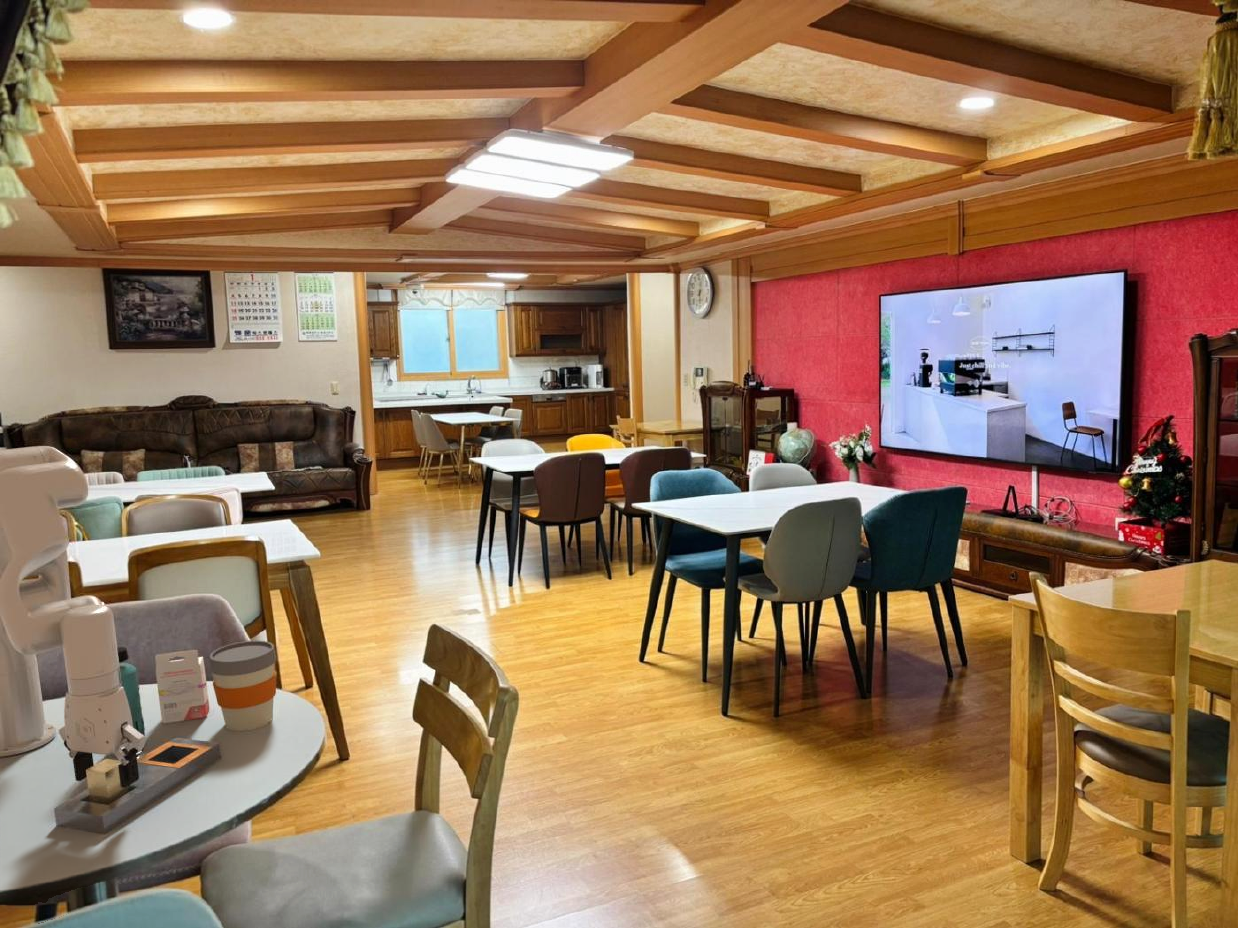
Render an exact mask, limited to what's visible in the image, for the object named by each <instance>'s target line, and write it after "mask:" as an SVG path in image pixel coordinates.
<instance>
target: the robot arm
mask: <svg viewBox="0 0 1238 928" xmlns="http://www.w3.org/2000/svg"><path fill="white" fill-rule="evenodd" d="M88 496H89V486H88V481H87V477H86V476H85V473H84V471H83V470H82V469H81V467H80V466H79V465H78V463H76V462H75V461H74V460H73V459H72V458H71V457H69V456H68V455H66V454H65V453H63V452H61V451H60V450H58V449H57V448H55V447H53V446H50V445H48V446H47V445H37V446H28V447H26V446H25V447H18V448H7V449H0V758H1V757H10V756H14V755H19V754H23V753H26V752H29V751H32V750H34V749H37V748H39V747H42V746H44V745H45V744H48V743H50V742H51V741H52V740H53V739H54V738H55V737H56V735H57V729H56V726H54V725H52V724H50V723H46V717H45V711H44V710H45V709H44V702H43V695H42V689H41V688H42V687H41V682H40V681H41V680H40V674H39V668H38V667H39V666H38V660H37V654H40V653H43V652H48V651H51V650H54V649H59V648H62V653H63V659H64V666H65V668H64V669H65V675H66V683H67V689H68V690H67V691H66V693H65V699H64V707H63V708H64V709H63V710H64V712H63V713H64V718H63V719H64V726H63V727H60V728H59V729H58V734H59V735H60V738H61V739H62V741H63V746H64V747H65V748H66V749H67V751H69V752H68V756H69V757H70V758H71V759H72V763H73V771H74V778H75V781H77V782H81V781H82V780H84V779H87V775H86V770H87V769H89V768H90V767H92V766H94V765H95V764H94V757H93V756H94V755H95V754H97V755H101V756H102V755H103V756H111V755H112V754H114V755H115V757H116V758H117V759H118V760H119V761H120V762H121V764H120V765H118V769H119V777H120V785H121V787H123V788H126V787H127V786H129V785H131V784H132V783H134V782H136V781H137V780H138V779H139V772H138V764H137V759H139V758H140V757H141V753H142V752H143V751H144V746H145V744H146V741H147V737H146V735H145V736H144V735H142V734H141V733H140V732H138V731H137V730H136V729H134V728H133V722H132V716H131V711H130V707H129V703H128V699H127V696H126V693H125V690H124V687H122V681H121V673H120V666H119V658H118V650H117V647H118V643H117V637H116V636H117V635H116V627H115V619H114V614H113V611H112V609H111V608H110V607H108V606H107V605H105V603H104V602H103V601H101V600H100V598H98V597H96V596H94V595H81V596H77V597H73V598H72V597H71V595H72V594H71V584H70V583H71V582H70V570H69V556H68V552H67V550H68V547H69V544H70V537H69V535H68V532H67V530H66V527H65V525H64V522H63V520H62V517H61V515H60V511H59V510H61V509H65V508H73V507H78V506H81V505H83V504H84V503H86V500H87V499H88ZM32 576H38V578H35V579H34V578H33V579H30V580H24V579H25V578H28V577H32ZM132 743H133V744H132ZM120 744H121V745H120ZM123 749H125V750H126V751H127V752H126V754H125V752H124V751H123Z"/></svg>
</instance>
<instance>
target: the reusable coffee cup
mask: <svg viewBox="0 0 1238 928" xmlns="http://www.w3.org/2000/svg"><path fill="white" fill-rule="evenodd" d="M276 662H277V653H276V650H275V645H274V644H273V643H272V642H270V641H266V640H248V641H247V640H246V641H239V642H234V643H230V644H227V645H224V646H221V647H219V648H217V649H215V650H213V651H212V652H211V653H210V655H209V673H211V675H212V678H213V682H212V686H213V691H214V696H215V699H216V703H217V705H218V706H219V707H220V709H221V712H222V716H223V717H222V718H223V721H224V724H225V728H226V729H228V730H229V731H233V732H234V731H236V732H241V731H242V732H243V731H250V730H254V729H258V728H261V727H263V726H266V725H268V724H269V723H270V722H271V721H272V720H273V718H274V714H273V713H274V699H275V696H276V694H277V678H278V677H277V675H278V673H277V671H276ZM271 719H272V720H271ZM269 721H270V722H269ZM268 722H269V723H268ZM260 726H261V727H260Z"/></svg>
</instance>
